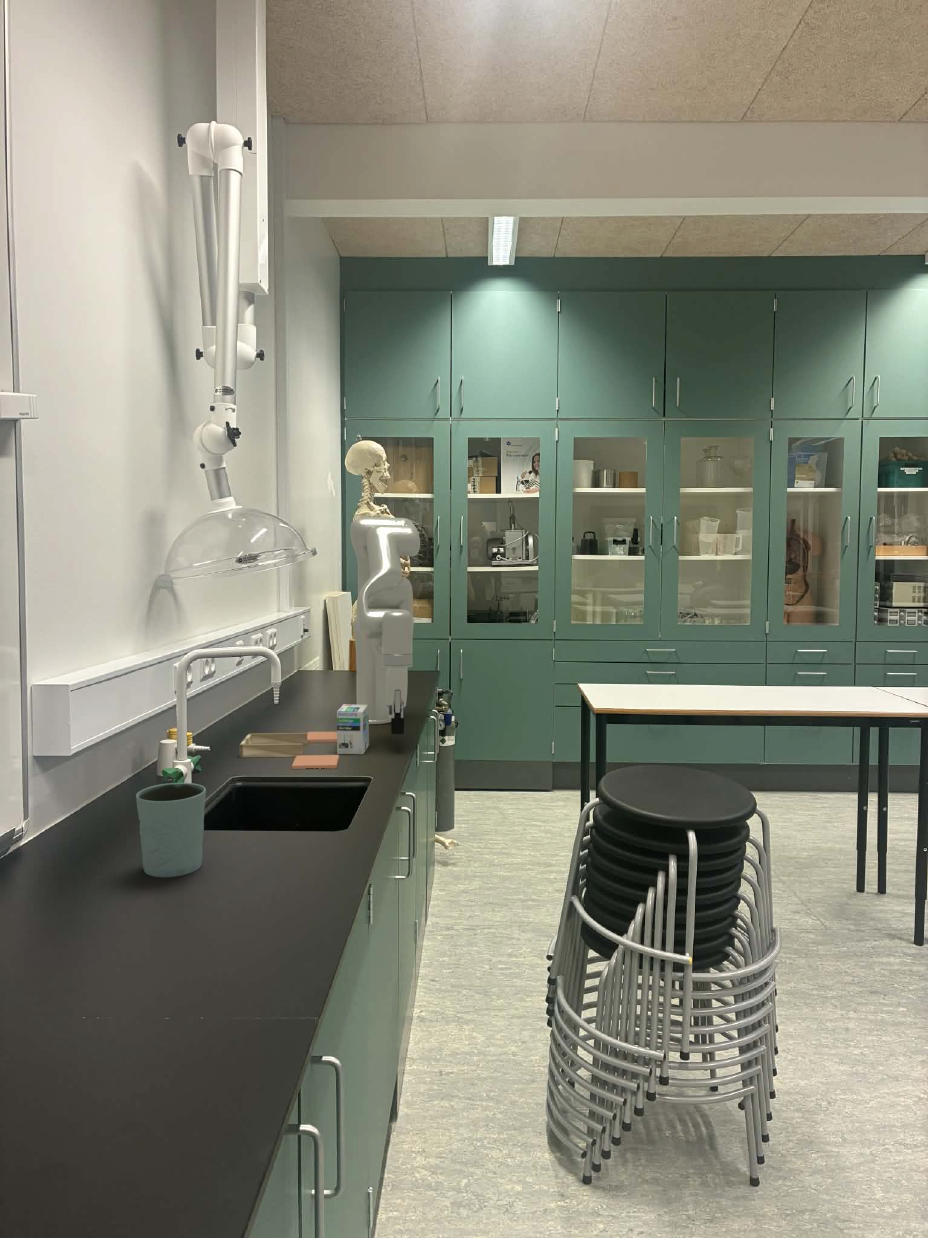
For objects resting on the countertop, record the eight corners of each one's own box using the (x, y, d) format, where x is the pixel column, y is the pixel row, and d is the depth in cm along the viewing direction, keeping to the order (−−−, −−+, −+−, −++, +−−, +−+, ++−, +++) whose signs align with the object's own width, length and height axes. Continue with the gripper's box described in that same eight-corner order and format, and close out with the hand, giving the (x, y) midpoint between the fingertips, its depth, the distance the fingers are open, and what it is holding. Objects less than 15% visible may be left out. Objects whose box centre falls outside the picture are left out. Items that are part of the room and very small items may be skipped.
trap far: (308, 734, 230) (308, 731, 230) (345, 734, 231) (345, 731, 231) (304, 742, 220) (304, 739, 220) (343, 742, 221) (343, 739, 221)
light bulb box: (363, 755, 207) (363, 711, 206) (336, 754, 207) (336, 711, 206) (369, 745, 217) (369, 703, 217) (343, 745, 217) (343, 703, 217)
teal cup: (204, 853, 137) (203, 780, 136) (209, 875, 128) (208, 796, 127) (137, 861, 133) (135, 786, 133) (137, 884, 124) (135, 803, 123)
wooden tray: (248, 745, 217) (248, 733, 216) (307, 744, 218) (307, 733, 218) (239, 757, 203) (239, 745, 203) (301, 756, 204) (301, 744, 204)
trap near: (296, 758, 202) (296, 755, 202) (338, 758, 203) (338, 755, 203) (291, 769, 192) (291, 765, 192) (336, 768, 193) (336, 765, 193)
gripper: (382, 658, 218) (382, 728, 219) (381, 664, 204) (382, 739, 204) (411, 657, 219) (411, 728, 220) (413, 663, 204) (413, 739, 205)
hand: (397, 733), depth 212 cm, fingers closed
